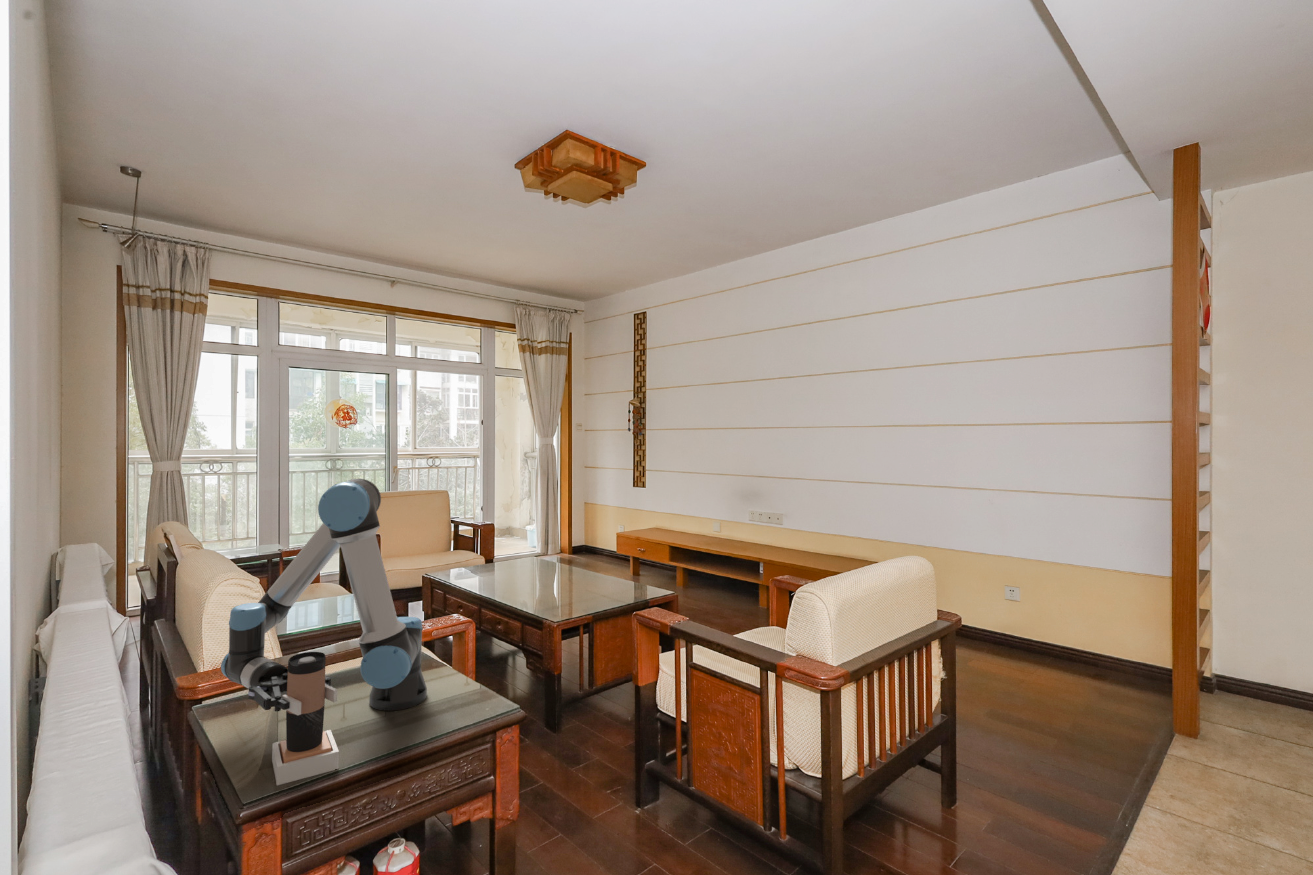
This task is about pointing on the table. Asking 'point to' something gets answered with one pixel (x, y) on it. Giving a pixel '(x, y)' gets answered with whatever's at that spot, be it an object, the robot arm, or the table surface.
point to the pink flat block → (292, 756)
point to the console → (304, 763)
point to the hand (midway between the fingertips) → (317, 702)
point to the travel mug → (306, 701)
